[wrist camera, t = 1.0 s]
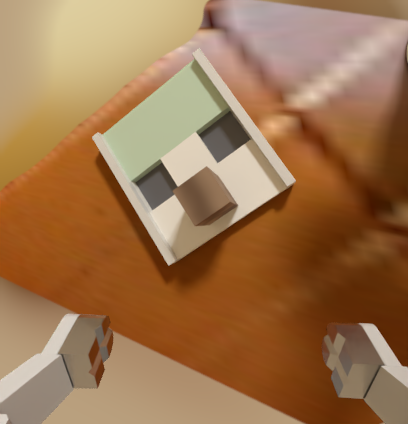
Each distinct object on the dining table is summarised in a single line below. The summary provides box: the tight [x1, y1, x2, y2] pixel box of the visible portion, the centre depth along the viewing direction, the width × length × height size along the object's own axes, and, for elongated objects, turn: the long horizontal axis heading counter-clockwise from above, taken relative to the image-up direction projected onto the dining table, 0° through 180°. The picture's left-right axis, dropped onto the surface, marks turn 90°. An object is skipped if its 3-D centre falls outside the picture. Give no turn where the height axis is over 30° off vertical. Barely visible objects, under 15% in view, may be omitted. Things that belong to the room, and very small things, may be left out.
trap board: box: [92, 48, 296, 266], centre depth 48 cm, size 25×28×4 cm
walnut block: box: [173, 166, 238, 226], centre depth 42 cm, size 6×6×9 cm
